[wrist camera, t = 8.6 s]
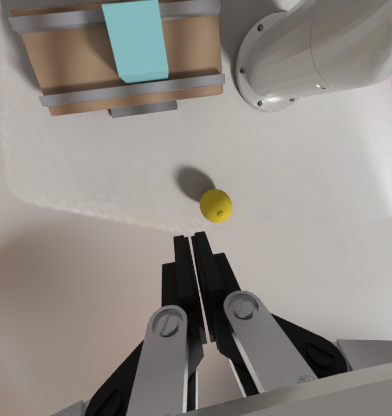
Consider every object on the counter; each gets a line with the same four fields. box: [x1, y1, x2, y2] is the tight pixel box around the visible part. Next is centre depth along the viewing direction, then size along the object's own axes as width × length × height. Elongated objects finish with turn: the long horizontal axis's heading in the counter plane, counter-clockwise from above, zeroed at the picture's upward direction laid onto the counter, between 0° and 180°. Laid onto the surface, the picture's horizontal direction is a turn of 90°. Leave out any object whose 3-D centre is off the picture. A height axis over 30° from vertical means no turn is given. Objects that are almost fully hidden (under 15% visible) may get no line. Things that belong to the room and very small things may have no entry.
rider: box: [102, 0, 169, 84], centre depth 21 cm, size 5×5×5 cm
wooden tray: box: [8, 0, 225, 118], centre depth 26 cm, size 22×12×7 cm, turn 97°
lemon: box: [200, 189, 232, 223], centre depth 36 cm, size 6×6×8 cm
